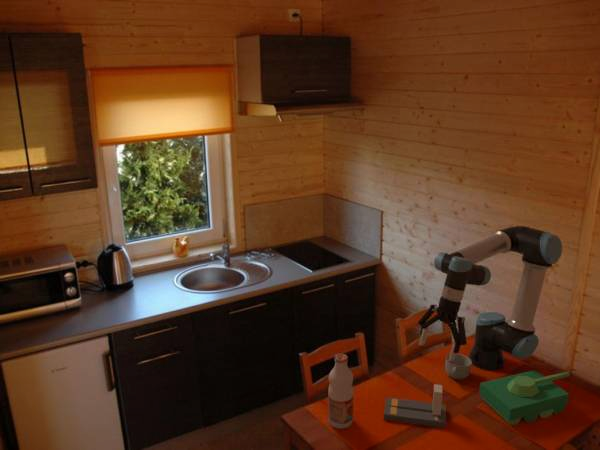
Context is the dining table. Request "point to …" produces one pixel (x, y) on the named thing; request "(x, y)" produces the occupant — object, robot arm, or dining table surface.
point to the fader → (437, 400)
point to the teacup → (458, 366)
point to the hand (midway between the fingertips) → (435, 352)
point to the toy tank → (525, 396)
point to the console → (413, 412)
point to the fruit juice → (340, 394)
